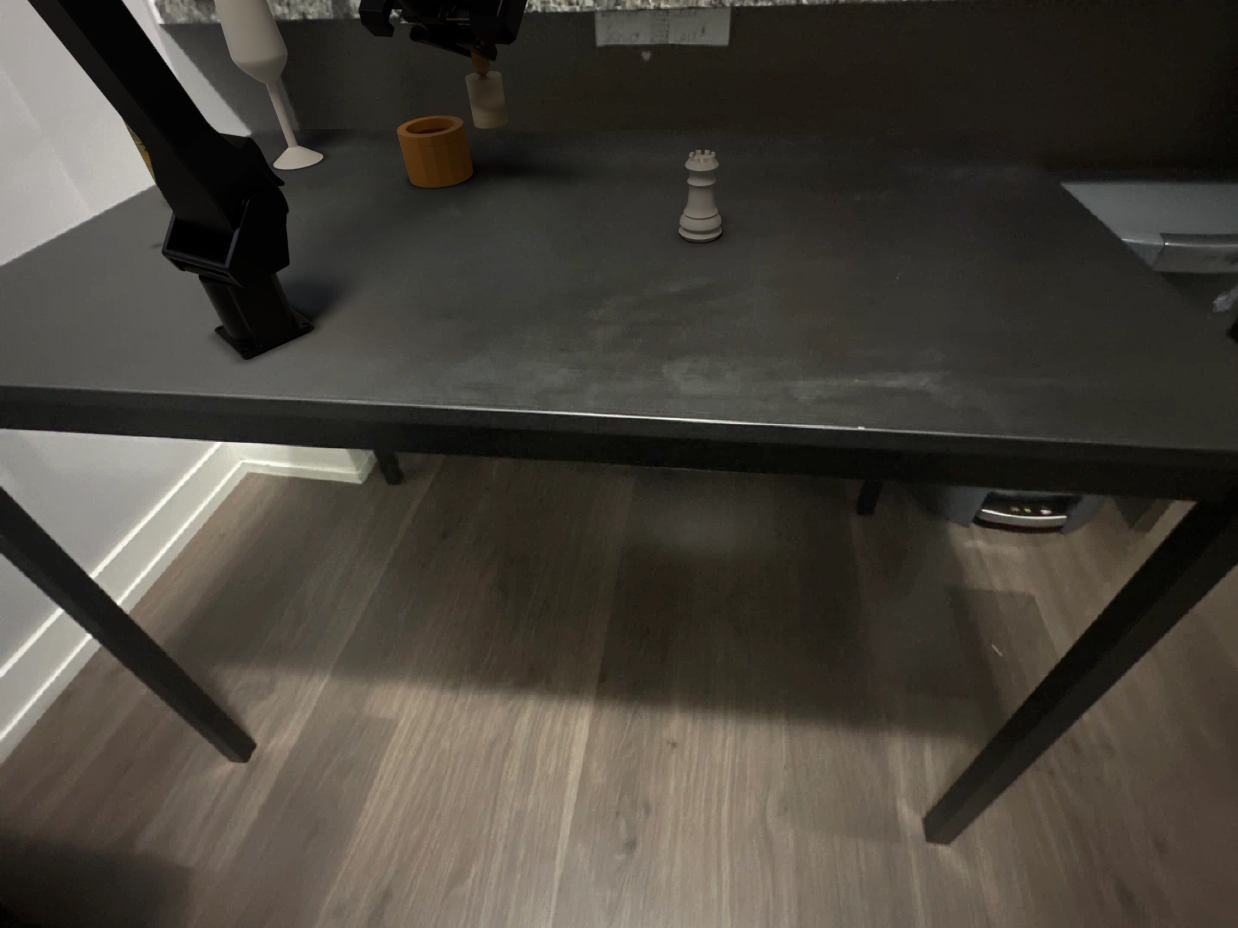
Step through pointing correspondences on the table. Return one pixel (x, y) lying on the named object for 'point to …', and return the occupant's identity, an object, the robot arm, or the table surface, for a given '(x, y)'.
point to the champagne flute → (262, 63)
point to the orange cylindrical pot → (435, 151)
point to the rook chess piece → (701, 200)
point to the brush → (486, 95)
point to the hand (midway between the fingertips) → (487, 56)
